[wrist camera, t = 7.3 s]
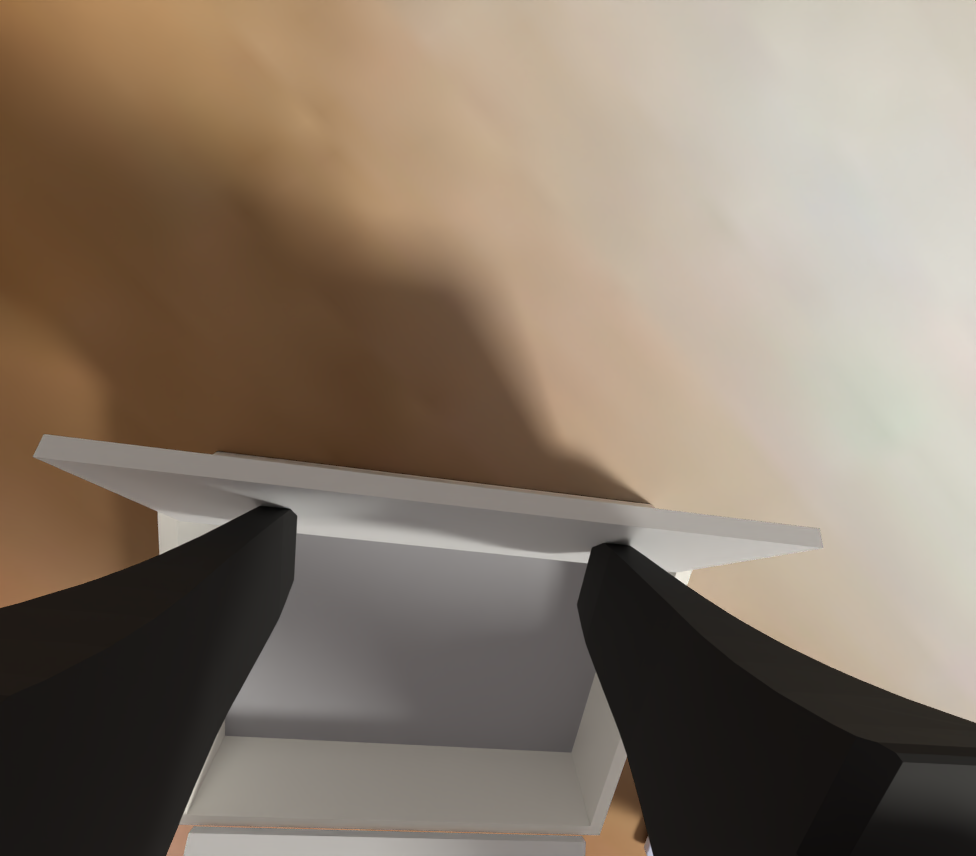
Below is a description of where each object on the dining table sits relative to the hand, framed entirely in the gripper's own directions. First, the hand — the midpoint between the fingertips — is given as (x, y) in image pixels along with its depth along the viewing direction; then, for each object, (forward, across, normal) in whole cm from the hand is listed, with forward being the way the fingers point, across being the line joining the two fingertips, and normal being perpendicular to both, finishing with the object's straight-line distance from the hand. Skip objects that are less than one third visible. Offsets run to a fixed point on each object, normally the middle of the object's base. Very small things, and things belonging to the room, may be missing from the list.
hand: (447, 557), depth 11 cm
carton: (+6, 0, +7) cm, 9 cm away
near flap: (0, 0, -1) cm, 1 cm away
